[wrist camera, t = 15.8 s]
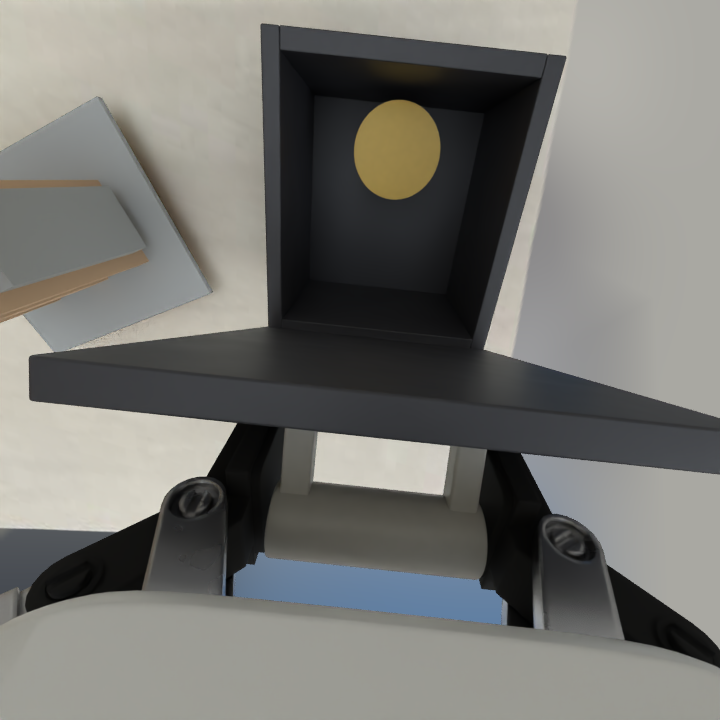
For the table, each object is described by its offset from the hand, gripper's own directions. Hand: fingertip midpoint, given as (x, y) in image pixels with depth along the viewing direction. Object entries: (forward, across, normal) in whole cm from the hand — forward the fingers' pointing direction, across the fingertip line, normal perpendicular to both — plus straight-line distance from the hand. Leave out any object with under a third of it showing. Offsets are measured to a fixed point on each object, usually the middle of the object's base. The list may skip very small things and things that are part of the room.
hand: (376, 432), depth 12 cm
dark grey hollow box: (+19, 0, -6) cm, 20 cm away
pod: (+18, 0, -9) cm, 20 cm away
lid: (+2, 0, -2) cm, 3 cm away
